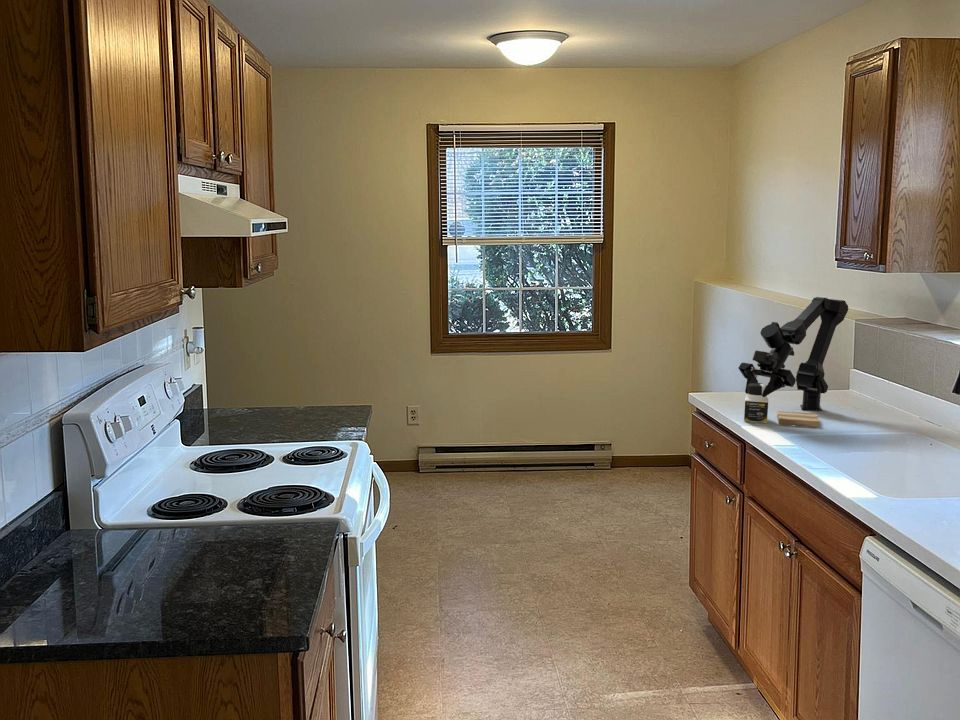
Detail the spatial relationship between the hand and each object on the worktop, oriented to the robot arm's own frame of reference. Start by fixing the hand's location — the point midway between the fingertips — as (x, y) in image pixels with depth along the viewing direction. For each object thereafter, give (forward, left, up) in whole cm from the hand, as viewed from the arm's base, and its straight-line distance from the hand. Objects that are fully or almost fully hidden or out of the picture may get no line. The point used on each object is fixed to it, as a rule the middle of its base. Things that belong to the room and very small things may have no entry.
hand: (754, 394), depth 306 cm
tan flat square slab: (-2, +14, -9) cm, 16 cm away
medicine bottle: (-1, +1, -9) cm, 9 cm away
